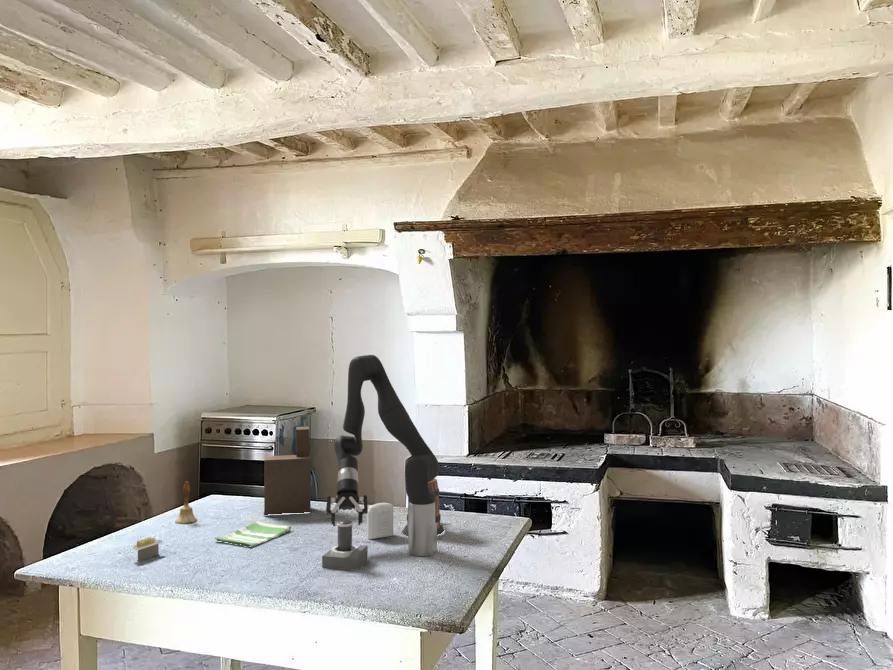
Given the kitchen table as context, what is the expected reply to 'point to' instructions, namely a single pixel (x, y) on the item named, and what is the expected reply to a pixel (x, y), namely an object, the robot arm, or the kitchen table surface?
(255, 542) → the dish towel
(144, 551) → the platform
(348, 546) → the lens
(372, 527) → the photo printer
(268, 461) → the brown box with post
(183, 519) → the hand bell
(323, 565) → the camera body
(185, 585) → the kitchen table surface
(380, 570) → the kitchen table surface
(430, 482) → the tankard
